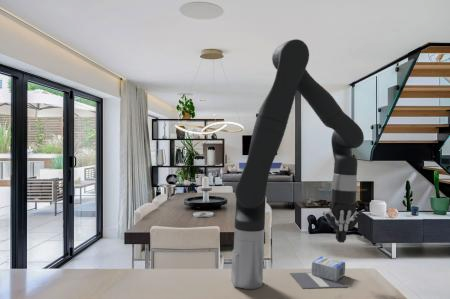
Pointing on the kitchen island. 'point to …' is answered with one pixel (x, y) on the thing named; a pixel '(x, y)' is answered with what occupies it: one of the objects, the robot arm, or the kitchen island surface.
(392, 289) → the kitchen island surface
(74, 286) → the kitchen island surface
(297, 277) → the mat
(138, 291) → the kitchen island surface
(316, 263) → the medicine box
